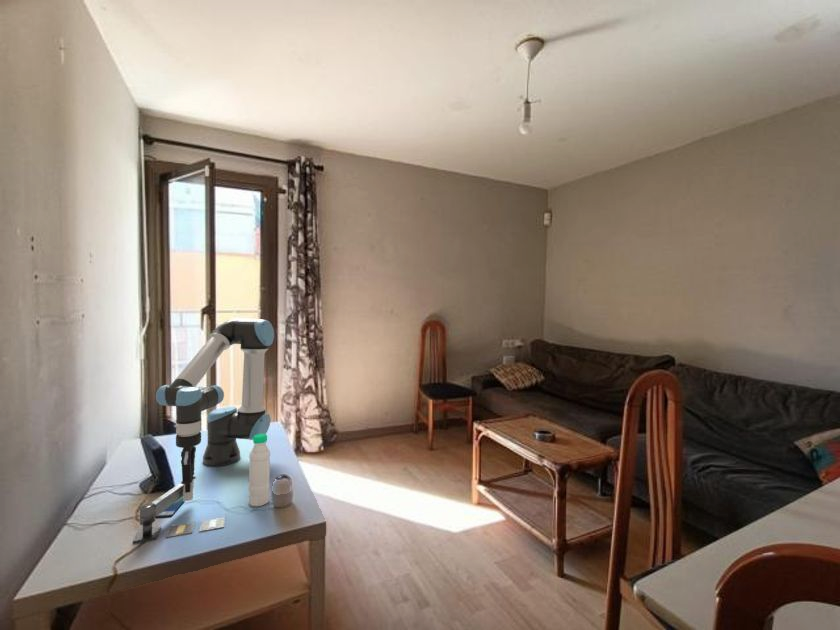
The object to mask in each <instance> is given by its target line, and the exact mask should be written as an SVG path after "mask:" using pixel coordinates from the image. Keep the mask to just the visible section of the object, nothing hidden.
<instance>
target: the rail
mask: <svg viewBox="0 0 840 630" xmlns="http://www.w3.org/2000/svg"><path fill="white" fill-rule="evenodd" d="M192 480H193V488H195V487H194V485H195V483H194V481H195V479H192ZM183 491H184V484H181V482H180V483H178V484H176V485H175V486H173V488H171V489H169V490H168V491H166V492H164V493H163V494H162V495H160V496H159V497H157V498H156V499H155V500H153V501H152V502H148V503H144V504H142V505H141V506H140V507H139V525H140V526H143V525H148V524H151V523H152V524H153V523H154V522H155V521H156V518H155V517H156V516H157V515H159V514H160V513H161V512H163V511H164V510H165V509H167V508H168V507H169V506H171V505H172V504H173V503H175V502H176V501H178V500H179V499H180V498H182V497H183Z"/></svg>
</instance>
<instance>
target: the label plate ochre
mask: <svg viewBox="0 0 840 630" xmlns="http://www.w3.org/2000/svg"><path fill="white" fill-rule="evenodd" d="M195 525H196V522H195V521H193V522H187V523H186V522H185V523H181V524H175V525H169V526H170V527H169V529H168V532H167V534H166V536H165V539H167V538H169V539H170V538H174V537H179V536H186V535H191V534H193V531H194V528H195Z"/></svg>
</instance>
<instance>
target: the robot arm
mask: <svg viewBox="0 0 840 630" xmlns="http://www.w3.org/2000/svg"><path fill="white" fill-rule="evenodd" d="M274 340H275V330H274V328H273V325H272V322H270V321H269V320H267V319H261V318H240V317H239V318H232V319H229V320H227V321H224V322H222V323H221V324H220V325H218V326H217V327H216V328H214V329H213V330H212V331H211V332H210V334H209V335H208V336H207V341H206V343H204V345H203V346H202V347H201V348H200V350H199V351H198V352H197V353H196V354H195V355H194V357H192V359H191V360H190V361H189V363H187V365H186V366H185V367H184V368H183V370H181V372H180V373H179V375H177V377H176V378H175V379H174V380H173V381H172V383H171V384H164V385H162V386H160V387H159V388H158V389H157V391H156V393H155V399H156V402H157V403H158V405H161V406H167V407H175V412H176V413H175V424H174V426H173V427H174V428H176V429H175V433H176V436H175V446H176V447H177V448H182V450H181V451H180V457H181V460H180V464H181V476H182V477H181V479H182V481H181V482H180V483H181V484H184V491H183V501H185V502H188V501H193V499H194V487H193V480H192V479H194V480H195V479H196V478H197V477H196V476H194V475H195V461H196V460H195V458H196V451H197V447H196V446H198V445H200V444H201V442H202V432H201V431H202V412H204V411H206V410H208V409H211V408H214V407H216V406H217V405H219V404H221V403H222V401H223V400H224V397H225V392H224V390H223V389H222V387H220V386H219V385H216V384H215V385H208V386H206V387H203V386H198V385H199V383H200V382H201V380H203V378H204V377H205V376H206V374H207V373H208V371H209V370H210V369H211V368H212V366H213V365H214V364H215V362H216V361H217V360H218V358H219V357H220V356H221V355H222V353H223V352H225V351H226V350H228V349H229V348H230V347H231V346H232V345H240V350H241V351H242V352H243V365H242V367H243V368H242V387H241V388H242V391H241V406H240V407H239V408H237V407H236V406H225V407H221V408H216V409H214V410H212V411H210V412H209V413H208V416H207V421H206V422H207V444H206V448H205V449H204V450H205V451H204V454H203V455H202V462H203V463H202V464H204V465H206V466H210V467H219V466H220V467H221V466H225V465H230V464H232V463H235V462H237V461H238V460H239V459H241V450H240V448H239V444H238V442H237V440H239V439H240V440H250V441H253V437H254V436H255V435H257V434H266V435H267V433H268V431H269V429H270V426H271V415H270V413H267V412H266V409H267V408H266V407H265V405H263V401H264V400H263V398H264V373H265V355H266V354H265V353H266V352H267V351H268V350H269V346H271V345H272V344H273V342H274Z"/></svg>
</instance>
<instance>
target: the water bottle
mask: <svg viewBox="0 0 840 630" xmlns="http://www.w3.org/2000/svg"><path fill="white" fill-rule="evenodd" d="M252 441H253V443H252V444H253V447H252V449H251V451H250V453H249V456H248V457H249V468H248V469H249V472H248V474H249V475H248V481H249V485H248V504H249V505H250V506H252V507H261V506H264V505H266V504H267V503H268V502H269V501H270V476H271V475H270V474H271V460H270V457H271V451H270V450H269V447H268V446H267V441H268V435H267V433H266V434H257V435H255V436H254V437H253V440H252Z"/></svg>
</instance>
